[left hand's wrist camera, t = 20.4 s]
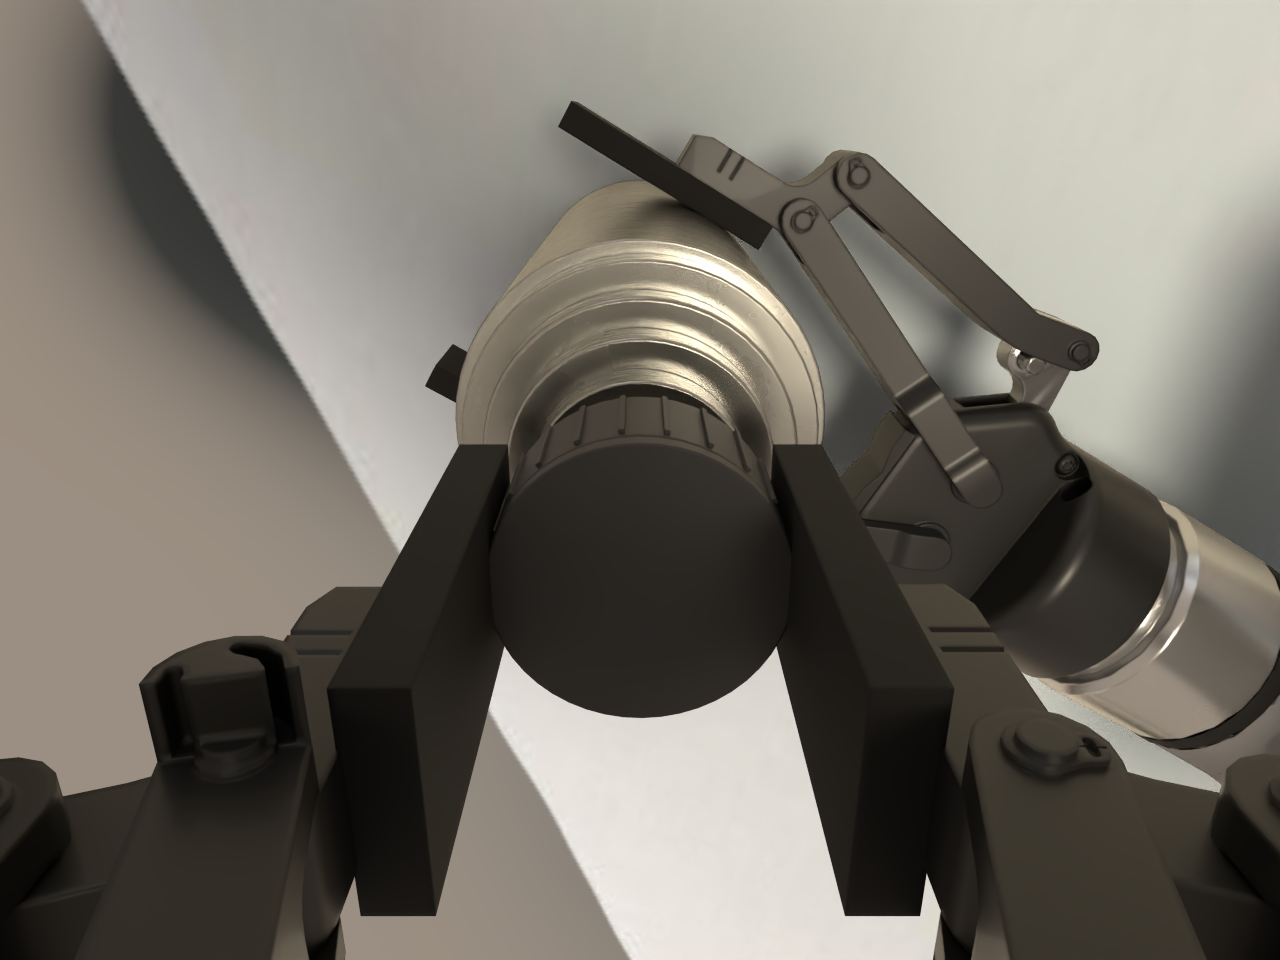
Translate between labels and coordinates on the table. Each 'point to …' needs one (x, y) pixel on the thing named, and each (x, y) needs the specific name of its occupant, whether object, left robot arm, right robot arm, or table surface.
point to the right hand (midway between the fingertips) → (501, 245)
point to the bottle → (639, 330)
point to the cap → (640, 559)
